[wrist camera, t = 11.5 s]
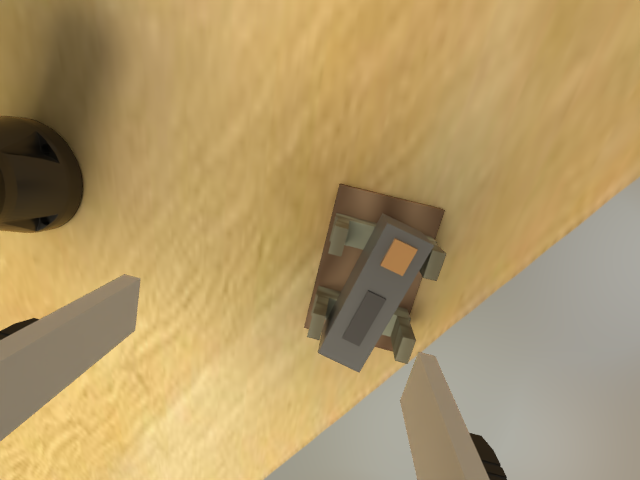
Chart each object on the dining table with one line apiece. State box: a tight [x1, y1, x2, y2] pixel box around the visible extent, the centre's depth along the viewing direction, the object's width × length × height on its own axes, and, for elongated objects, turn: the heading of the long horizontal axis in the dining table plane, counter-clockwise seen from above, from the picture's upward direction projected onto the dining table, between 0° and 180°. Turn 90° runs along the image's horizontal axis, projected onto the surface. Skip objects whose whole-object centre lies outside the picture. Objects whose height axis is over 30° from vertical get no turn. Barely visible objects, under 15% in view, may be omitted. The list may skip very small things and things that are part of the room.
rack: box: [304, 184, 446, 364], centre depth 39 cm, size 13×20×9 cm, turn 167°
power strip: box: [318, 213, 434, 372], centre depth 36 cm, size 5×16×6 cm, turn 155°
